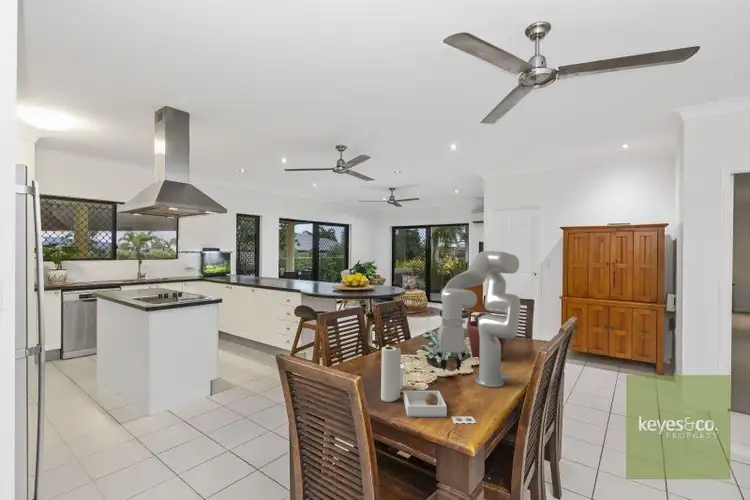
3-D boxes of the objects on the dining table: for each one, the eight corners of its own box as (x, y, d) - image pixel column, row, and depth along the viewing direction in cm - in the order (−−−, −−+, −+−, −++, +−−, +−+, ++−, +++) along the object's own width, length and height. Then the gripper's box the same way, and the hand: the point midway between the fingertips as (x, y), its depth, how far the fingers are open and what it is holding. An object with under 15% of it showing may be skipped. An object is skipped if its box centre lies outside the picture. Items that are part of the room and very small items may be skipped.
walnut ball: (455, 368, 148) (455, 356, 148) (458, 373, 143) (459, 360, 143) (442, 368, 147) (443, 356, 147) (445, 373, 142) (446, 360, 142)
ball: (436, 403, 148) (436, 391, 148) (439, 409, 143) (439, 396, 143) (424, 403, 148) (424, 391, 148) (426, 409, 143) (426, 396, 143)
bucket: (465, 349, 227) (466, 308, 227) (502, 351, 224) (503, 310, 224) (469, 362, 203) (470, 316, 202) (511, 364, 200) (512, 318, 199)
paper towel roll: (378, 400, 152) (379, 348, 151) (383, 395, 157) (384, 345, 157) (395, 403, 149) (396, 351, 149) (400, 398, 155) (400, 347, 154)
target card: (472, 417, 138) (472, 416, 138) (476, 423, 133) (476, 422, 133) (451, 417, 138) (451, 416, 138) (454, 423, 133) (454, 422, 133)
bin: (438, 400, 153) (439, 390, 153) (446, 417, 138) (446, 406, 138) (403, 400, 153) (403, 390, 152) (407, 416, 138) (407, 406, 138)
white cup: (394, 383, 171) (394, 361, 171) (407, 388, 165) (407, 366, 165) (382, 387, 165) (382, 365, 165) (395, 393, 160) (395, 370, 159)
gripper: (470, 321, 149) (469, 366, 149) (428, 320, 148) (427, 365, 148) (476, 325, 142) (475, 372, 142) (432, 324, 141) (430, 372, 141)
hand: (450, 368), depth 145 cm, fingers closed on walnut ball, 4 cm apart
